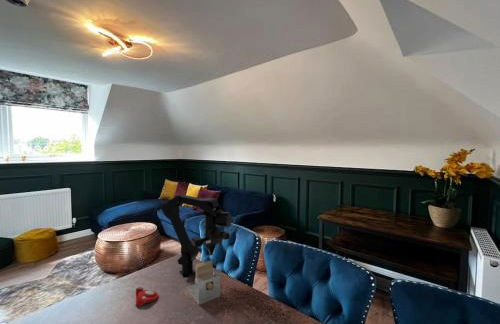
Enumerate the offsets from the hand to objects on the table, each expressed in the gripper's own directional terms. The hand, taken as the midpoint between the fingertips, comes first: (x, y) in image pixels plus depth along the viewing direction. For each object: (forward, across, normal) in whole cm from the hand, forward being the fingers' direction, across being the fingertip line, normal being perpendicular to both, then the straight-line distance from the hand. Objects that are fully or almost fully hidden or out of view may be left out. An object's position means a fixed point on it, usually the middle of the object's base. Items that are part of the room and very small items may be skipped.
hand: (211, 255), depth 116 cm
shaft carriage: (+11, -8, -13) cm, 19 cm away
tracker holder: (+12, -30, +3) cm, 33 cm away
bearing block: (+12, -8, -8) cm, 16 cm away
